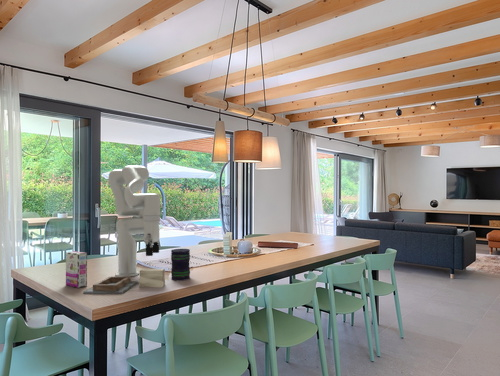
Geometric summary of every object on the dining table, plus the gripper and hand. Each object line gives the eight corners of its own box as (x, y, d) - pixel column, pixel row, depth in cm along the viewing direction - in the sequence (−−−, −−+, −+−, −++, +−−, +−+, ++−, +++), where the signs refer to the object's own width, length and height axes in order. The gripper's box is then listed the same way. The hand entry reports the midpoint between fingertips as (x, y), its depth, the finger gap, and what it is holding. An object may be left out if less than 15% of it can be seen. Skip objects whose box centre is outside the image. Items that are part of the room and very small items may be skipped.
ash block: (142, 285, 177) (142, 268, 177) (164, 285, 177) (164, 268, 177) (139, 287, 173) (139, 270, 173) (162, 287, 172) (162, 270, 172)
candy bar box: (87, 286, 176) (87, 252, 176) (78, 288, 172) (77, 254, 172) (74, 283, 182) (74, 250, 182) (65, 285, 178) (65, 252, 178)
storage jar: (172, 276, 195) (172, 248, 195) (190, 275, 196) (190, 248, 196) (169, 280, 185) (169, 251, 185) (189, 280, 186) (188, 251, 186)
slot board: (103, 282, 182) (103, 275, 182) (138, 282, 181) (138, 275, 181) (83, 293, 162) (83, 285, 162) (122, 293, 161) (122, 286, 161)
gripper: (150, 218, 184) (150, 251, 183) (138, 220, 167) (138, 257, 166) (164, 217, 184) (165, 251, 183) (154, 219, 166) (154, 256, 166)
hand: (152, 254), depth 175 cm, fingers open, 9 cm apart
